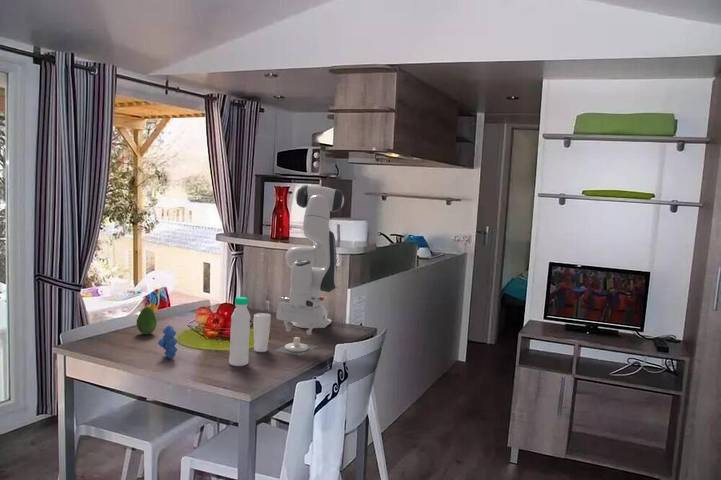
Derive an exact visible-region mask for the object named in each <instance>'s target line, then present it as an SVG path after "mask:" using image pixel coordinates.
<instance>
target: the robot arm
mask: <svg viewBox="0 0 721 480" xmlns="http://www.w3.org/2000/svg"><path fill="white" fill-rule="evenodd" d="M295 201H296V205H297V206H298V207H300V208H303V209H305V210H304V216H303V221H302V222H303V223H302V229H303V235H304V236H305V237H306V238H307V240H309V241H311V242H312V246H305V245H304V246H303V245H302V246H300V245H298V246H292V247H290V248H289V249H287V250H286V253H285V261H286V265H287V266H288V267H289V268H290V269H291V272H290V285H291V286H290V289H289V297H283V296H282V297H280V298H278V300H277V307H276V314H275V317H276V319H277V320H278V321H283V324H284V327H285V332H288V333H290V332H291V331H292V326H290V324H292V325H293V326H294V327H297V328H302V329H307V330H306V331H305V334H306V336H307V335H308V336H312V331H313V329H324V328H325V329H326V327H328V325H330V324H331V323H332V322H333V321H332V319H330V318H328V310H327V308H325V306H323V301H325V297H324V296H321V293H322V292H326V293H331V292H332V291H334V290H335V289H336V288H337V287H338V282H339V279H338V278H339V277H338V269H337V260H338V255H337V249H336V248H337V247H336V246H337V245H336V237H335V234H334V232H333V231H331V229H330V218H331V215H330V213H331V212H332V213H335V212H336V213H337V212H339V211H340V210H342V208H343V207H344V203H345V197H344V193H343V191H342V190H340V189H337V188H335V189H334V188H331V187H327V186H318V185H308V184H302V185H300V186H299V187H298V188H297V190H296V192H295ZM289 323H290V324H289Z"/></svg>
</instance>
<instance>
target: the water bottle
mask: <svg viewBox="0 0 721 480" xmlns="http://www.w3.org/2000/svg"><path fill="white" fill-rule="evenodd" d="M234 305H235V308H234V309H233V312H232V314H231V317H230V320H231V322H230V331H229V333H230V334H229V335H230V339H229V340H230V346H229V357H228V363H229V365H231V366H233V367H243V366H246V365H248V363H249V351H250V345H249V344H250V335H251V334H250V333H251V322H250V321H251V314H250V312H249V309H248V305H249V298H248V297H247V296H246V297H245V296H239V297H235V299H234Z"/></svg>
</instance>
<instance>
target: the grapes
mask: <svg viewBox="0 0 721 480" xmlns="http://www.w3.org/2000/svg"><path fill="white" fill-rule="evenodd" d="M162 332H163V336H162V338H160V339H159V340H158V342H157V344H158V346H160V348H162V349H163V350H165V352H164V355H165V356H166V357H167V358H168V359H170V360H173V359H174V358H175V356H176V355H177V354H176V353H177V352H178V348H177V347H176V346H175V345H177V344H178V340H177V339H176V338H175V336H176V334H177V333H176V331H175V329H174V328H173V326H172V325H170V324H168V325H167V326H166V327H165V328H164V329H163V330H162Z"/></svg>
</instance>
